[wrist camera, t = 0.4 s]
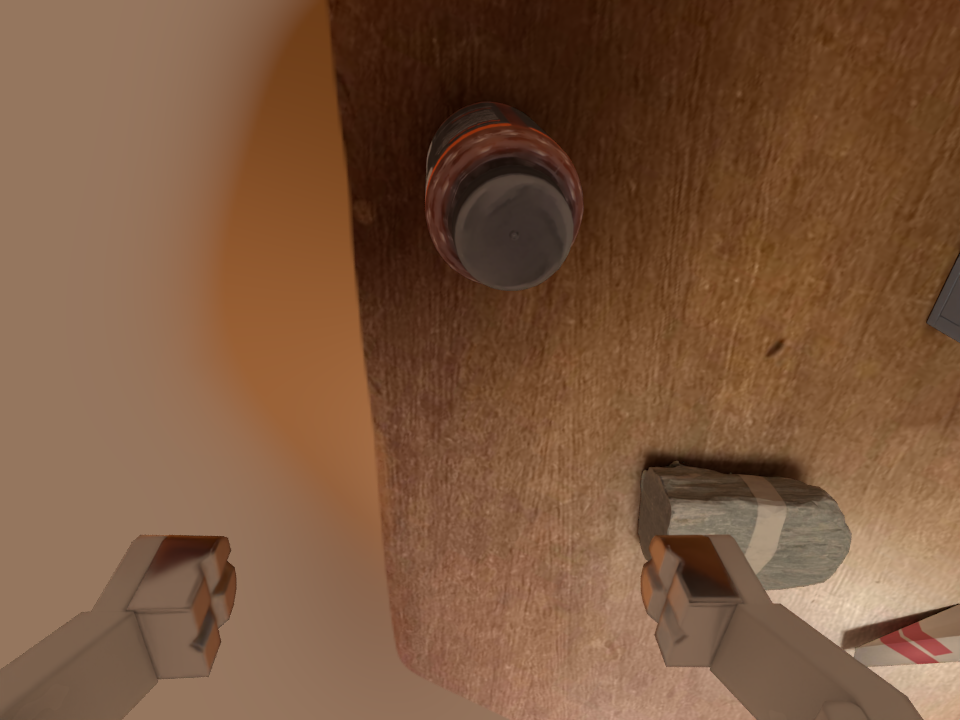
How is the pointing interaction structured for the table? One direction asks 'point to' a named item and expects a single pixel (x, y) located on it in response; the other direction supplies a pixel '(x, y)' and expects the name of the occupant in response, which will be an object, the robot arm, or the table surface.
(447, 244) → the supplement bottle
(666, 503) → the decorative stone
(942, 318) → the blue bin
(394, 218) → the table surface
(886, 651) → the trowel
